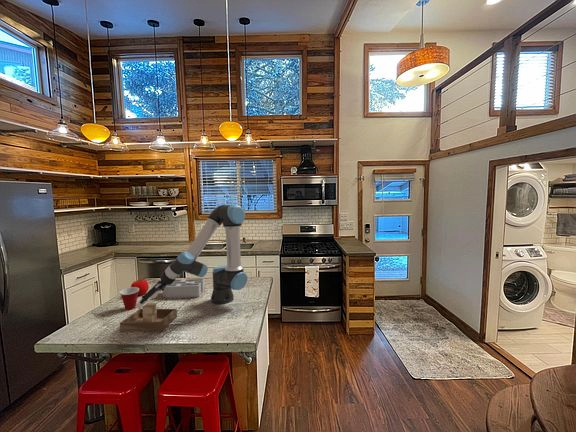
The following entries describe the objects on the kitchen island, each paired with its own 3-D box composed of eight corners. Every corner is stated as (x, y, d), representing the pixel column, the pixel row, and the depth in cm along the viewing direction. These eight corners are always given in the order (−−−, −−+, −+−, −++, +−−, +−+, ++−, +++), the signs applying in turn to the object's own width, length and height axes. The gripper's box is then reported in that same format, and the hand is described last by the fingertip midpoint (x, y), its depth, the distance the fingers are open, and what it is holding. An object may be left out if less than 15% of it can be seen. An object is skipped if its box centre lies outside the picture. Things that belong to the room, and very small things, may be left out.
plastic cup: (119, 313, 165) (117, 294, 164) (121, 306, 175) (120, 288, 174) (139, 310, 170) (138, 291, 169) (140, 304, 180) (139, 286, 179)
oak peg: (148, 320, 153) (147, 303, 152) (157, 320, 153) (156, 303, 152) (143, 324, 148) (142, 306, 147) (152, 324, 148) (151, 306, 147)
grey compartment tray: (199, 297, 190) (198, 285, 189) (158, 299, 189) (157, 287, 188) (205, 289, 207) (204, 278, 206) (167, 291, 205) (167, 279, 205)
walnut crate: (140, 316, 160) (140, 308, 159) (177, 317, 159) (176, 308, 158) (120, 332, 142) (119, 322, 141) (161, 332, 141) (160, 323, 140)
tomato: (150, 295, 196) (149, 280, 195) (131, 298, 190) (130, 283, 189) (147, 290, 206) (146, 276, 205) (130, 293, 200) (129, 278, 199)
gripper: (163, 287, 135) (136, 316, 137) (185, 273, 160) (161, 298, 162) (152, 276, 135) (125, 306, 137) (176, 264, 160) (152, 289, 162)
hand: (145, 301), depth 149 cm, fingers open, 13 cm apart
